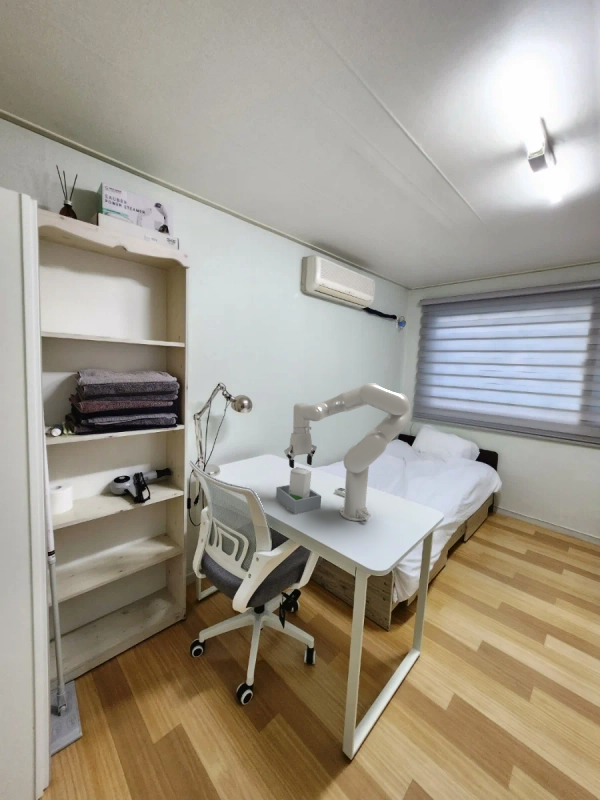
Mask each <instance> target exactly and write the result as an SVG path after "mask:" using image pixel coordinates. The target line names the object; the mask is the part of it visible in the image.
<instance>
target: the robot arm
mask: <svg viewBox="0 0 600 800" xmlns="http://www.w3.org/2000/svg"><path fill="white" fill-rule="evenodd" d="M367 405H368V406H370V407H373V408H375V409H378V410H381V412H385V413H387V415H386V417H384V418H383V419H382V420H381V421H380V423H378V424H377V425H376V426H375V427H373V428H372V429H371V430H370V431H368V432H367V433H366V434H365V436H364V437H363V438H361V440H360V441H358V443H357V444H355V445H353V446H351V447H350V448H349V449H348V450H347V452H346V453H345V455H344V456H343V457H344V458H343V467H344V468H345V470H346V472H345V481H344V483H345V487H344V499H343V500H344V501H343V502H344V503H343V507H341V508H340V509H339V510H340V511H339V514H340V516H342V518H344V519H346V520H349V521H353V522H363V521H368V520H369V519H370V517H371V513H369V511H368V507H367V505H366V504H367V494H368V492H367V491H368V479H369V468H370V465H372V464H373V463H374V462H375V461H376V460H377V459H378V458H380V457H381V456H382V455H383V453H384V452H385V450H386V448H387V446H388V445H389V444H390V443H391V441H392V440H393V439H395V438H396V437H397V436H398V435H399V434H400V433H401V432H402V431H403V430H404V429H405V427H406V426H407V424H408V423H409V421H410V418H411V404H410V401H409V398H408V396H407V395H406V394H404V393H401V392H394V391H392V390H389V389H387V388H383V386H380V385H379V384H378V383H375V382H368V383H365V384H363V385H360V386H357V387H355V388H351V389H350V390H347V391H345V392H341V393H339V395H337V396H334V397H332V398H329V399H326V400H324V401H321V402H317V403H315V404H311V405H310V404H308V403H295V404H294V405H293V415H292V416H293V422H292V425H293V426H292V427H293V429H292V431H293V432H291V435H290V438H289V447H287V448H286V449H284V450H283V452H284V455H285V456H286V457H287V458H288V465H289V468H291V469H294V468H295V457H296V456H303V455H307V456H306V464H307V465H308V466H312V464H313V456H314V454H315V453H316V451H317V445H314V444H312V441H313V440H312V435H311V432H310V430H312V426H310V421H311V422H320V421H321V420H324V419H325V418H328V417H331V416H333V415H336V414H340V413H345V412H346V413H347V412H350V411H353V410H356V409H358V408H359V409H360V408H361V407H364V406H367Z"/></svg>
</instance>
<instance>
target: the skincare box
mask: <svg viewBox="0 0 600 800" xmlns="http://www.w3.org/2000/svg"><path fill="white" fill-rule="evenodd" d="M311 480H312V470H309V469H306V468H302V467H299V466H295V467H294V468H291V469H290V474H289V485H290V486H289V495H290V496H291V497H292V498H294V499H295V500H300V499H304V498H309V494H310V489H311V482H312V481H311Z"/></svg>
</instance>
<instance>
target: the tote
mask: <svg viewBox="0 0 600 800" xmlns="http://www.w3.org/2000/svg"><path fill="white" fill-rule="evenodd" d="M289 486H290V484H286V485H281V486H276V488H275V489H276V490H275V492H276V493H275V500H277V501H278V503H280V504H281V503H282V504H281V505H283V507H285V508H286V509H287V508H288V509H287V510H288V511H289V512H290V513H292V512H293V513H294V514H293V513H292V514H293V515H299V514H303V513H306V512H309V511H315V510H318V509H321V507H322V495H321V494H319V493H317V492H316V491H315V490H314V489H312V488H310V494H309V498H304V499H300V500H295V499H294V498H292V497H291V496H290V495H289ZM298 513H299V514H298Z"/></svg>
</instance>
